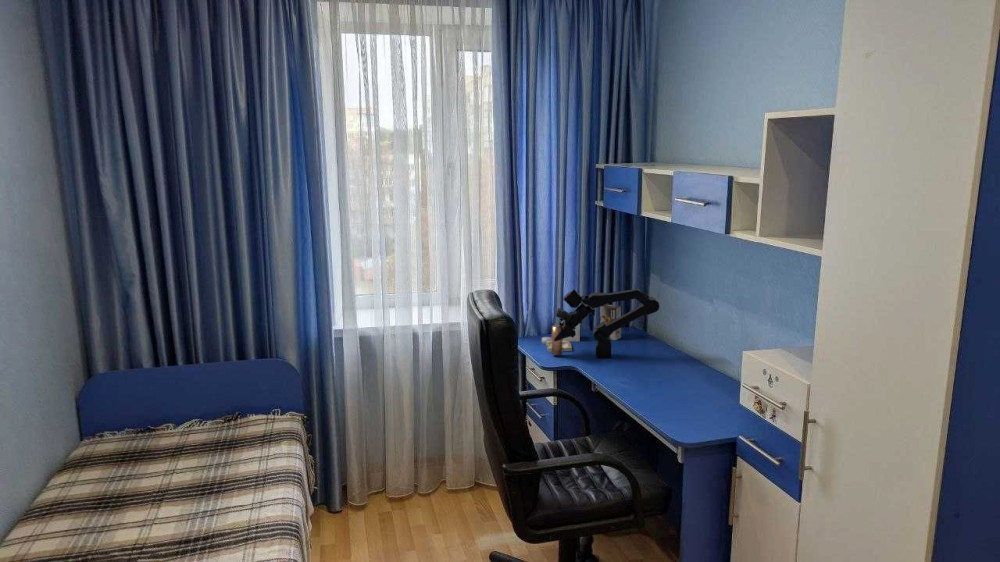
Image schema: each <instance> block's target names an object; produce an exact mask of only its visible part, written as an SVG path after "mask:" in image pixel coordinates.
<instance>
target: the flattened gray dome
mask: <svg viewBox="0 0 1000 562" xmlns="http://www.w3.org/2000/svg"><path fill="white" fill-rule="evenodd" d="M546 341H552V336H551V337H550V336H543V337H541V344H542V345H546Z"/></svg>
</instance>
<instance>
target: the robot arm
mask: <svg viewBox="0 0 1000 562" xmlns="http://www.w3.org/2000/svg"><path fill="white" fill-rule="evenodd" d="M562 298H563V301H564V302H565V303H566V304H567V305H568V306H569V307H570V308H574V309H575V310H571V311H570V312H569V311H566V310H564V309H562V308H559V307H558V308H557V310H556V312H555V314H554V315H555V316H556V318H558V319H559V320H558V325H561V331H560V332H559V333H558V335H557V336H556V337H555V339H554V341H558V340H561V339H564V338H567V337H572V338H573V337H574V336H575V335H576V332H575V329H576V328H575V327H576V326H577V325H578V324H579V323H580V325H581V324H582V323H583V321H584V320H585V319H586V318H587V317H588V316H590V314H591V315H593V316H595V315H596V309H597V308H600V306H603V305H605V304H610V303H617V302H623V301H629V300H637V301H638V302H639V303H640V304H638V306H637V307H635V308H633V309H632V310H629V311H627V313H625V314H623V315H621V317H619V318H617V319H615V320H613V321H612V322H610V323H605V322H604V321H603V322H601V323H600V322H599V323H598V324H596V325H595V327H593V330H592V333H593V335H592V336H593V339H594V340H595V341H596V345H595V346H594V350H595V351H594V355H595V356H596V358H597V359H613V356H612V339H610V335H611V334H612V333H613V332H614V331H615V330H617V329H619V328H621V329H622V327H624V326H627V325H628V324H630V323H632V322H634V321H635V320H637V319H638V318H640V317H643V316H648V315H650V314H654V313H656V312H659V309H660V303H659V301H658V300H657V298H656V297H653V296H650V295H648V294H646V293H645V292H643V291H641V290H640V289H639V288H633V289H627V290H622V291H614V292H607V293H605V292H591V293H590V294H588V295H581V294H580V293H579V292H578V291H577V290H576V289H575V288H573V289H572V290H571V291H569V292H567V293H566V294H565V295H564V297H562Z"/></svg>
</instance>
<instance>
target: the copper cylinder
mask: <svg viewBox="0 0 1000 562" xmlns="http://www.w3.org/2000/svg"><path fill="white" fill-rule="evenodd" d="M560 331H561V325H559V324H554V325H552V326H551V338H552V352H551V354H552V355H554V356H558V355H559V356H560V355H563V352H562V341H563V340H562V339H561V340H558V341H554V339H555V337H556V336H557V335H558V333H559V332H560Z"/></svg>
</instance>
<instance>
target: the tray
mask: <svg viewBox="0 0 1000 562" xmlns="http://www.w3.org/2000/svg"><path fill="white" fill-rule="evenodd" d="M545 345H546V348H547V352H549V353H550V352H551V353H552V341H546V344H545ZM563 351H572V352H573V347H572V344H571V341H563V340H562V353H563Z"/></svg>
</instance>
